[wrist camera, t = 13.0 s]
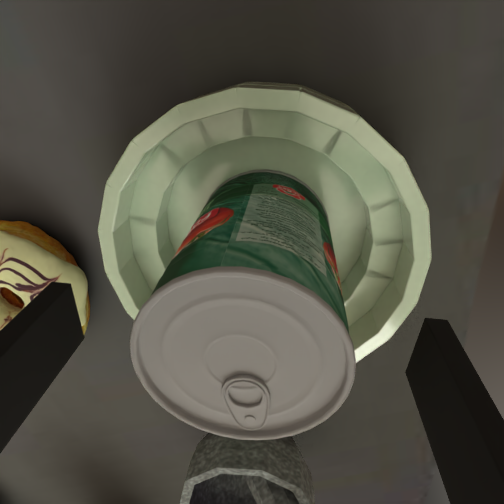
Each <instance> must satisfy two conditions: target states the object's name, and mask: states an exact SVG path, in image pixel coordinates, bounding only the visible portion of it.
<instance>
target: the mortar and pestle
mask: <svg viewBox="0 0 504 504" xmlns="http://www.w3.org/2000/svg"><path fill="white" fill-rule="evenodd" d="M180 504H315V496H314V489H313V483H312V478H311V473H310V470H309V469H308V467H307V465H306V463H305V461H304V459H303V457H302V455H301V453H300V452H299V450H298V448H297V446H296V444H295V442H294V441H293V439H292V437H291V436H288V437H283V438H279V439H270V440H242V439H234V438H228V437H223V436H218V435H215V434H212V433H208V434H207V435H206V436H205V437H204V438H203V439H202V440H201V441H200V443H199V444H198V446H197V448H196V450H195V453H194V455H193V457H192V460H191V462H190V465H189V469H188V473H187V477H186V481H185V484H184V488H183V492H182V496H181V500H180Z"/></svg>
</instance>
